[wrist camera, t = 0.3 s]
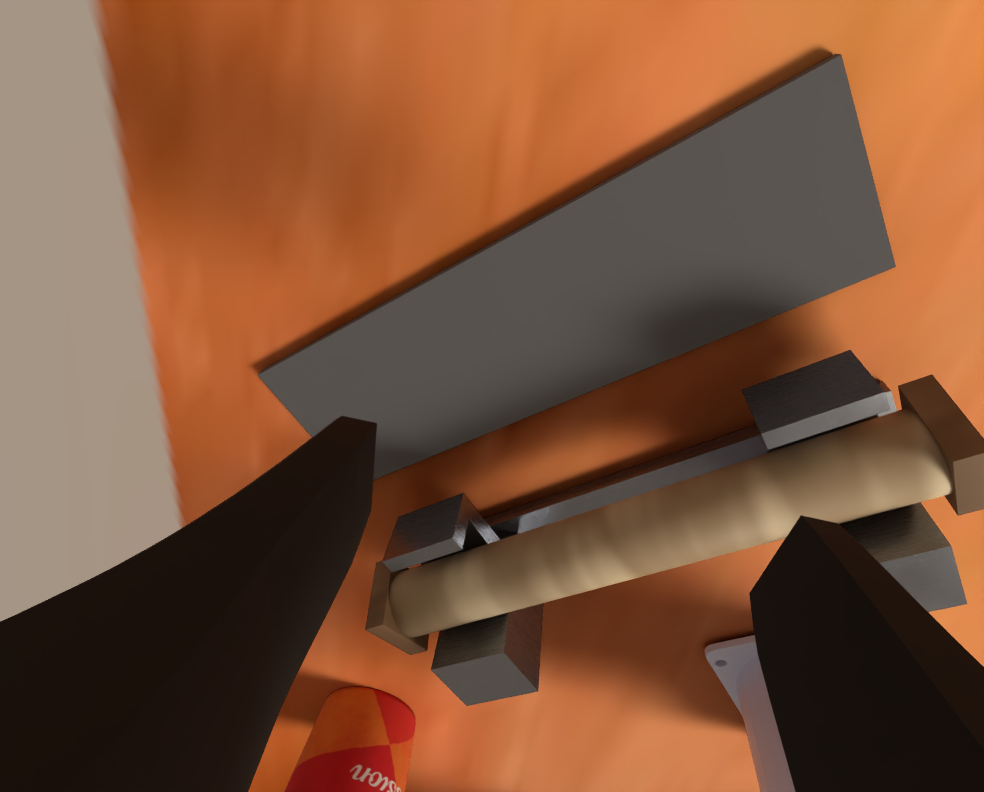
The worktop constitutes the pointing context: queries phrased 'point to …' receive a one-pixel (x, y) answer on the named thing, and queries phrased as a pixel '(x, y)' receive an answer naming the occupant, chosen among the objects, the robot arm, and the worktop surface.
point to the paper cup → (357, 744)
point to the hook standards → (779, 423)
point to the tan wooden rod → (696, 519)
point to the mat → (611, 279)
